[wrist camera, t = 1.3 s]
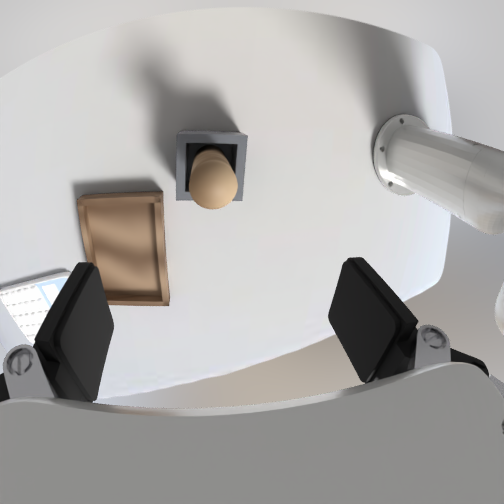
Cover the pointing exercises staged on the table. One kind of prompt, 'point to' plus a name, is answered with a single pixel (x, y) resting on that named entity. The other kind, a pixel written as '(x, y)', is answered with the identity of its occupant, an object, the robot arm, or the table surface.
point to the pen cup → (194, 140)
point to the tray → (127, 245)
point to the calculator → (32, 301)
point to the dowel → (212, 178)
